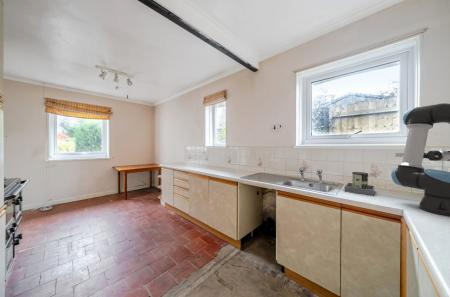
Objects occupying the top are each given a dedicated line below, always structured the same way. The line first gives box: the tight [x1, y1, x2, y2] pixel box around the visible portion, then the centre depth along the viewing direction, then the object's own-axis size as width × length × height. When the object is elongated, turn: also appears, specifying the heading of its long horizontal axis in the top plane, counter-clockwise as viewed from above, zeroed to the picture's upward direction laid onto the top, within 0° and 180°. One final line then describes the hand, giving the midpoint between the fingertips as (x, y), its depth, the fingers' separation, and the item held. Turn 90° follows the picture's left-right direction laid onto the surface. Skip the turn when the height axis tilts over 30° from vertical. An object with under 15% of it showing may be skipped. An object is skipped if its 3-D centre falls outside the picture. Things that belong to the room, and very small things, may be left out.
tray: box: [344, 182, 376, 196], centre depth 137 cm, size 18×18×4 cm
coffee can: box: [351, 171, 369, 189], centre depth 137 cm, size 10×10×14 cm
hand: (401, 155), depth 125 cm, fingers open, 13 cm apart
